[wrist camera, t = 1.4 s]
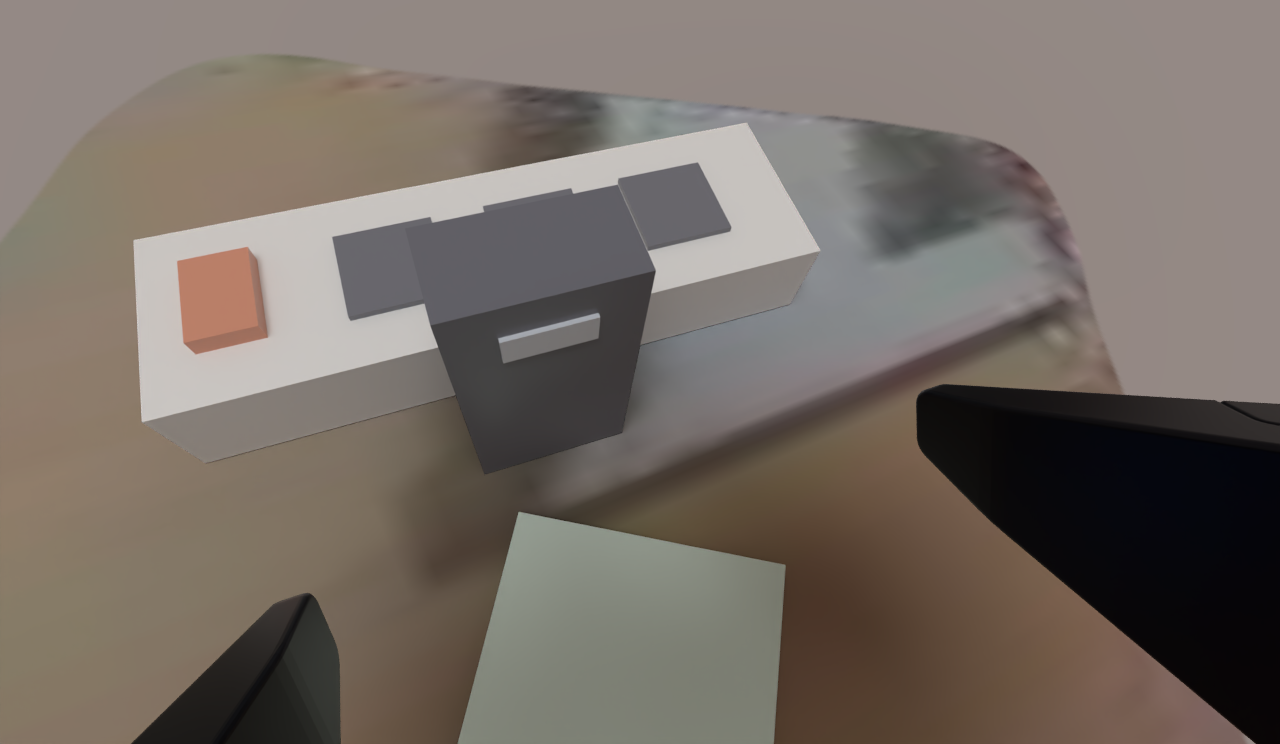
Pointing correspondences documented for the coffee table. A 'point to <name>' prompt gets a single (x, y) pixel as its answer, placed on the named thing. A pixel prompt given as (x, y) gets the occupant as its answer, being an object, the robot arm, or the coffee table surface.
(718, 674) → the felt coaster
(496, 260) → the brick
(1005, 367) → the coffee table surface
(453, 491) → the coffee table surface
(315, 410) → the power strip
